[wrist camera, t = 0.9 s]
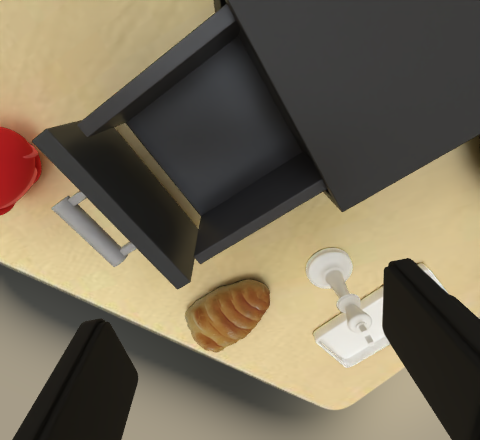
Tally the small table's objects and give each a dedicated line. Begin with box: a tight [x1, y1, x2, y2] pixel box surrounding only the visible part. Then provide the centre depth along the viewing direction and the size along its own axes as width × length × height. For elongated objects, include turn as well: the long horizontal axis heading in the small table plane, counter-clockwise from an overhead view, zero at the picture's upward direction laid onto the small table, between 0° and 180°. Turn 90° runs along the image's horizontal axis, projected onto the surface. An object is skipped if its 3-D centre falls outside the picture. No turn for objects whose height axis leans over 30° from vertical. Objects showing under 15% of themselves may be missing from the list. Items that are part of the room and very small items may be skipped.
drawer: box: [32, 4, 327, 289], centre depth 20 cm, size 18×12×8 cm
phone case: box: [313, 263, 447, 368], centre depth 33 cm, size 7×1×15 cm
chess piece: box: [306, 248, 375, 347], centre depth 26 cm, size 5×5×10 cm
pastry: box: [185, 280, 270, 352], centre depth 30 cm, size 9×7×4 cm
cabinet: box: [214, 0, 480, 212], centre depth 17 cm, size 15×14×10 cm
